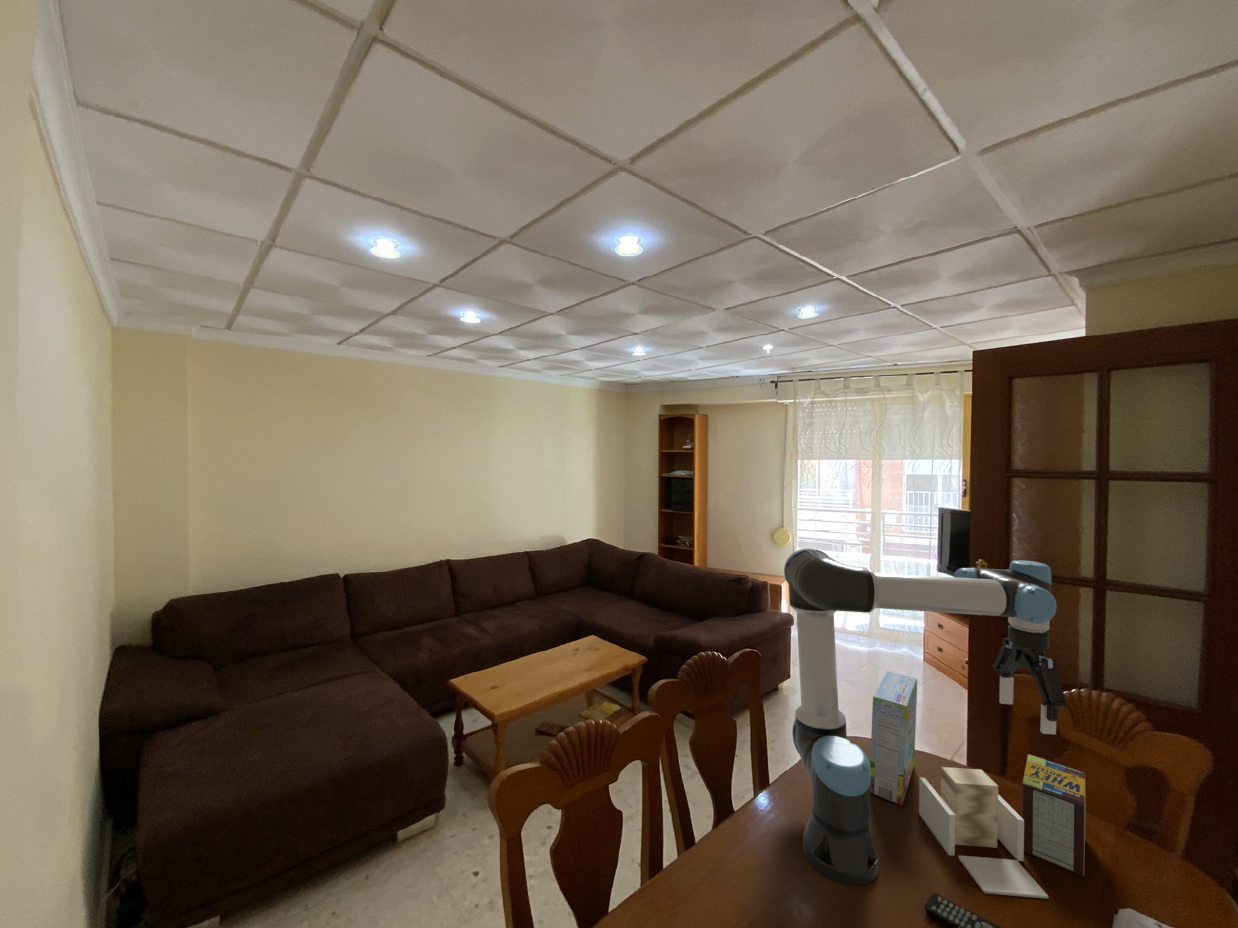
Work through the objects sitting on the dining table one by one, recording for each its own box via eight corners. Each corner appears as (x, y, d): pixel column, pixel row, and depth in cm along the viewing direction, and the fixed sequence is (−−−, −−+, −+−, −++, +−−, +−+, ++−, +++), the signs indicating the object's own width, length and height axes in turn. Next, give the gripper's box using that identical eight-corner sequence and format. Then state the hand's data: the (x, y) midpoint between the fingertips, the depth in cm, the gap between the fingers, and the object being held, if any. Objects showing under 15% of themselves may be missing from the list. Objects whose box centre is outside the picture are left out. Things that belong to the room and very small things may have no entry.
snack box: (906, 808, 125) (907, 706, 124) (867, 794, 130) (869, 696, 130) (917, 766, 142) (918, 676, 142) (883, 755, 147) (884, 668, 147)
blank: (954, 844, 113) (955, 782, 113) (940, 825, 119) (941, 766, 119) (997, 847, 112) (998, 785, 112) (980, 828, 118) (981, 769, 118)
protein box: (1084, 837, 115) (1085, 771, 115) (1084, 878, 104) (1085, 804, 104) (1026, 815, 123) (1027, 752, 123) (1020, 850, 111) (1021, 781, 111)
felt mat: (984, 892, 100) (984, 890, 100) (958, 857, 109) (958, 855, 109) (1048, 898, 99) (1048, 895, 99) (1016, 862, 108) (1016, 859, 108)
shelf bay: (948, 854, 110) (949, 814, 110) (918, 813, 123) (919, 777, 123) (1023, 861, 108) (1024, 819, 108) (985, 818, 121) (985, 781, 121)
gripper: (1091, 648, 104) (1088, 748, 105) (1008, 612, 129) (1006, 693, 129) (1052, 646, 105) (1049, 746, 105) (978, 610, 130) (975, 691, 130)
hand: (1025, 717), depth 117 cm, fingers open, 13 cm apart
